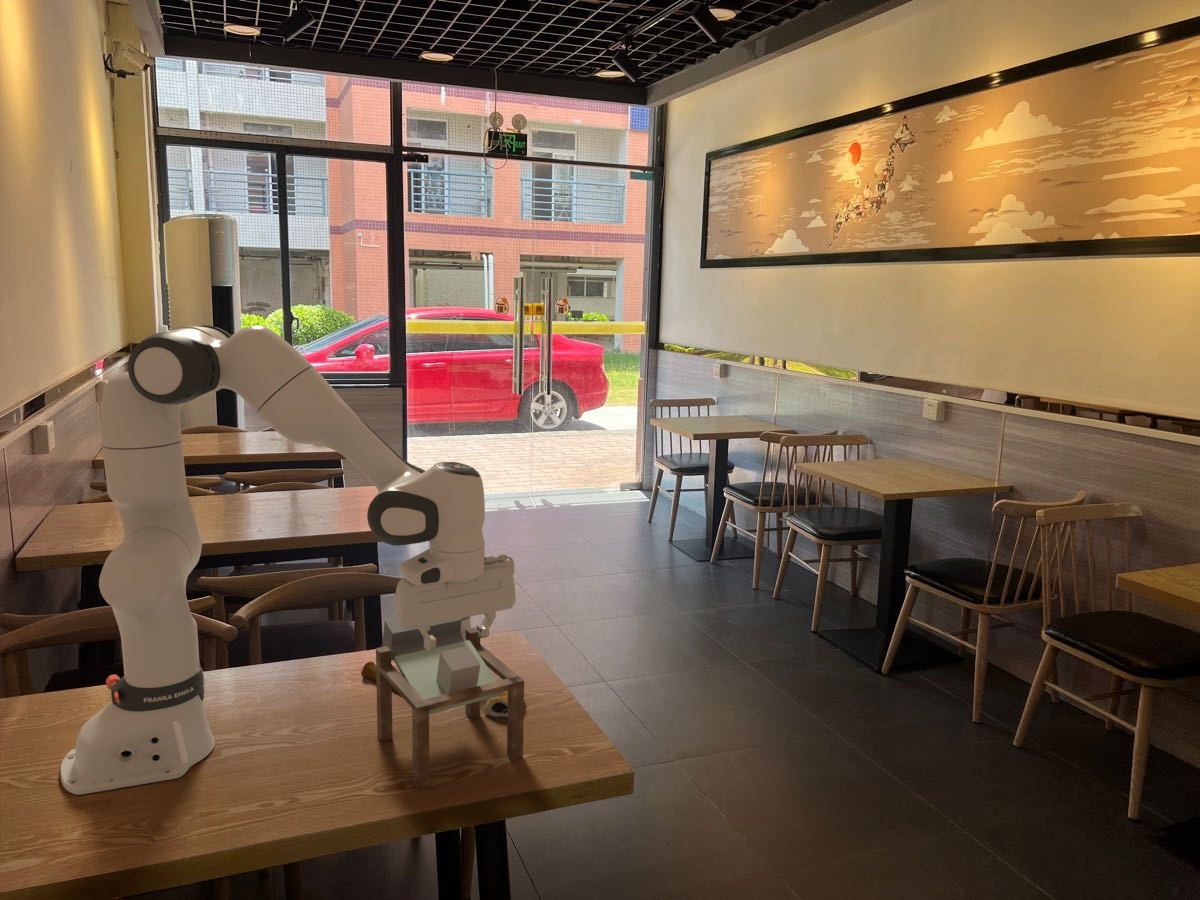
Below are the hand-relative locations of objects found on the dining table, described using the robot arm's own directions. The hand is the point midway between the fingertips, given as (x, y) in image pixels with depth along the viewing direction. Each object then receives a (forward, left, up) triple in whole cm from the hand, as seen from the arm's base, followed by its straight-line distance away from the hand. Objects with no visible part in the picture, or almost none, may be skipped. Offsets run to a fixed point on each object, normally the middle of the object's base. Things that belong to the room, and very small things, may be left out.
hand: (457, 642), depth 142 cm
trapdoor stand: (0, +3, -21) cm, 21 cm away
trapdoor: (0, +8, -9) cm, 12 cm away
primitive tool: (+1, +28, -21) cm, 35 cm away
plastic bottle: (+16, +35, -21) cm, 44 cm away
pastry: (+15, +11, -21) cm, 28 cm away
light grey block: (0, 0, -8) cm, 8 cm away
